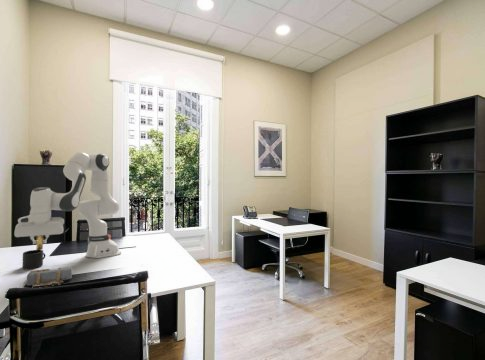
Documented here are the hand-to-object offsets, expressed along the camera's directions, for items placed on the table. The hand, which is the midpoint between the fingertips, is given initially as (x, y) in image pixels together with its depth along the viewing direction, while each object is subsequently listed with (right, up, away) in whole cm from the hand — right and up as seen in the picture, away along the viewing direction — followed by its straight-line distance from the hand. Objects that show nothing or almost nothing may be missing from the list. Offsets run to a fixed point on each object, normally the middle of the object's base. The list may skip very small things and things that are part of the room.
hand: (39, 243), depth 132 cm
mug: (-18, -19, +19) cm, 32 cm away
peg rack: (+9, -19, -4) cm, 21 cm away
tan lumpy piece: (-1, -19, 0) cm, 19 cm away
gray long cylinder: (+9, -18, -4) cm, 21 cm away
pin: (0, -3, 0) cm, 3 cm away
